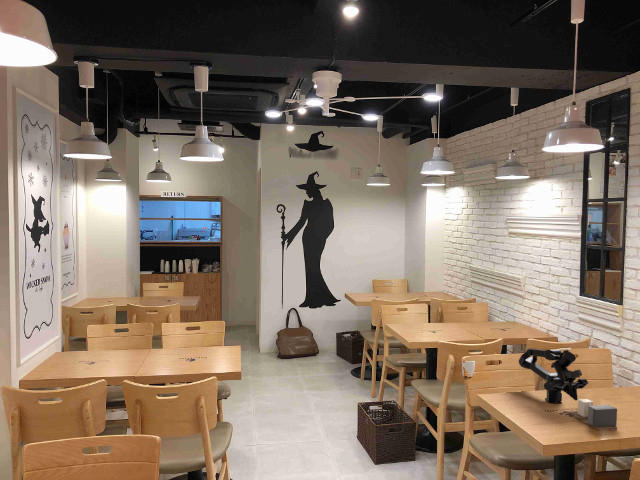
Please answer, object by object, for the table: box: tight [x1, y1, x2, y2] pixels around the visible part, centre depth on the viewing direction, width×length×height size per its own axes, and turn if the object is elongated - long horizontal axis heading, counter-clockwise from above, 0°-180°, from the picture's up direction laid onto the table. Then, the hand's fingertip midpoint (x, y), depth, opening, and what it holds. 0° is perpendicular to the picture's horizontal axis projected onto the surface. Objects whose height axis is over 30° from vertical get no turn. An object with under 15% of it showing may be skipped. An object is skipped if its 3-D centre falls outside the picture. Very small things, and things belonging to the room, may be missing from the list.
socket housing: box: [588, 404, 618, 427], centre depth 235 cm, size 5×11×8 cm, turn 102°
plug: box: [577, 398, 594, 417], centre depth 244 cm, size 6×5×7 cm
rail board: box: [566, 410, 618, 431], centre depth 241 cm, size 20×10×1 cm, turn 12°
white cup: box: [461, 360, 476, 377], centre depth 310 cm, size 8×8×10 cm
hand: (576, 400), depth 251 cm, fingers closed
